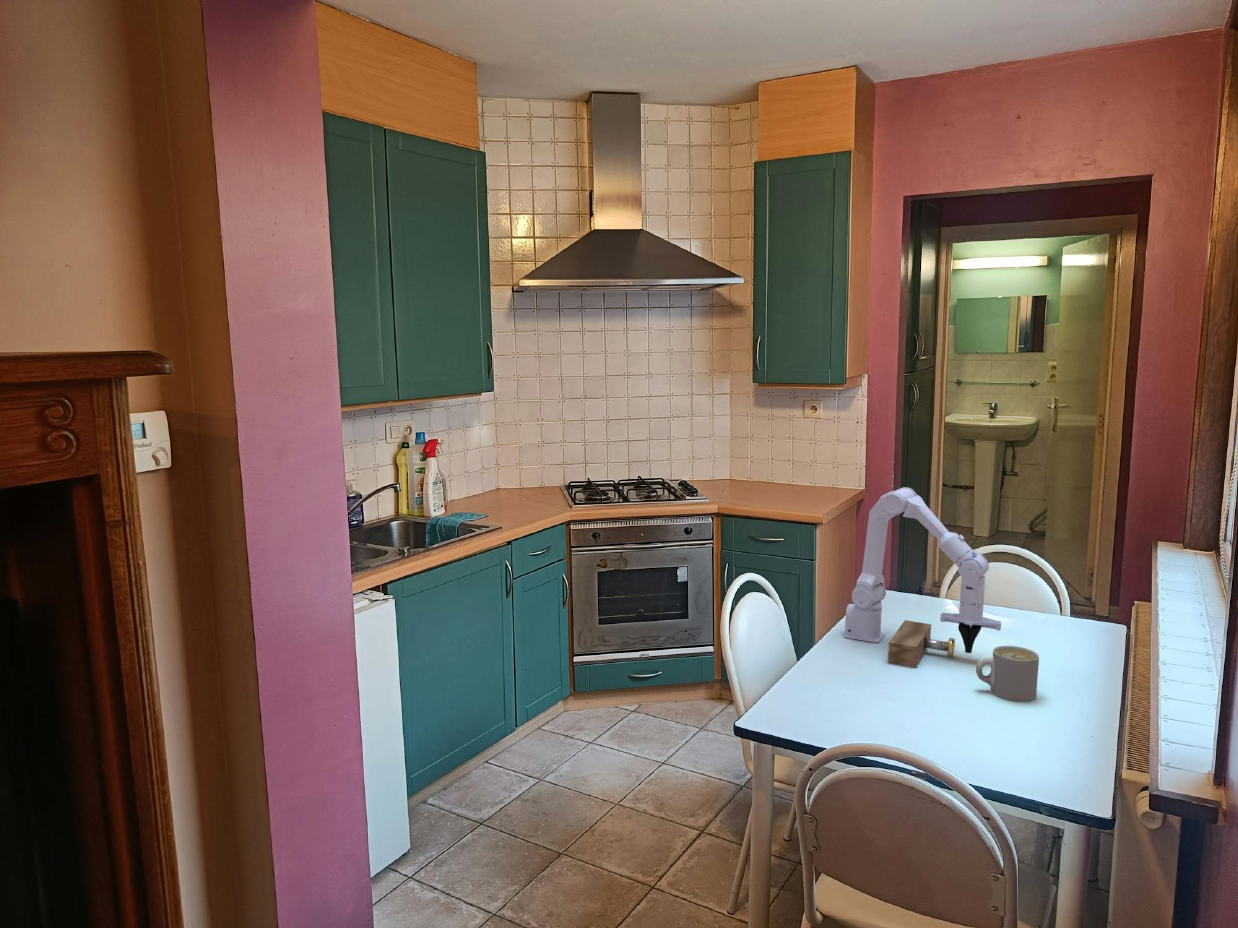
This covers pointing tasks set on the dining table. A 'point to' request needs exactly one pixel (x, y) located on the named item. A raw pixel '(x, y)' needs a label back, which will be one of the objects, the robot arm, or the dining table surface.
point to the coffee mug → (1011, 673)
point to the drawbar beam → (908, 644)
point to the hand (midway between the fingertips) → (968, 651)
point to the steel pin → (941, 645)
